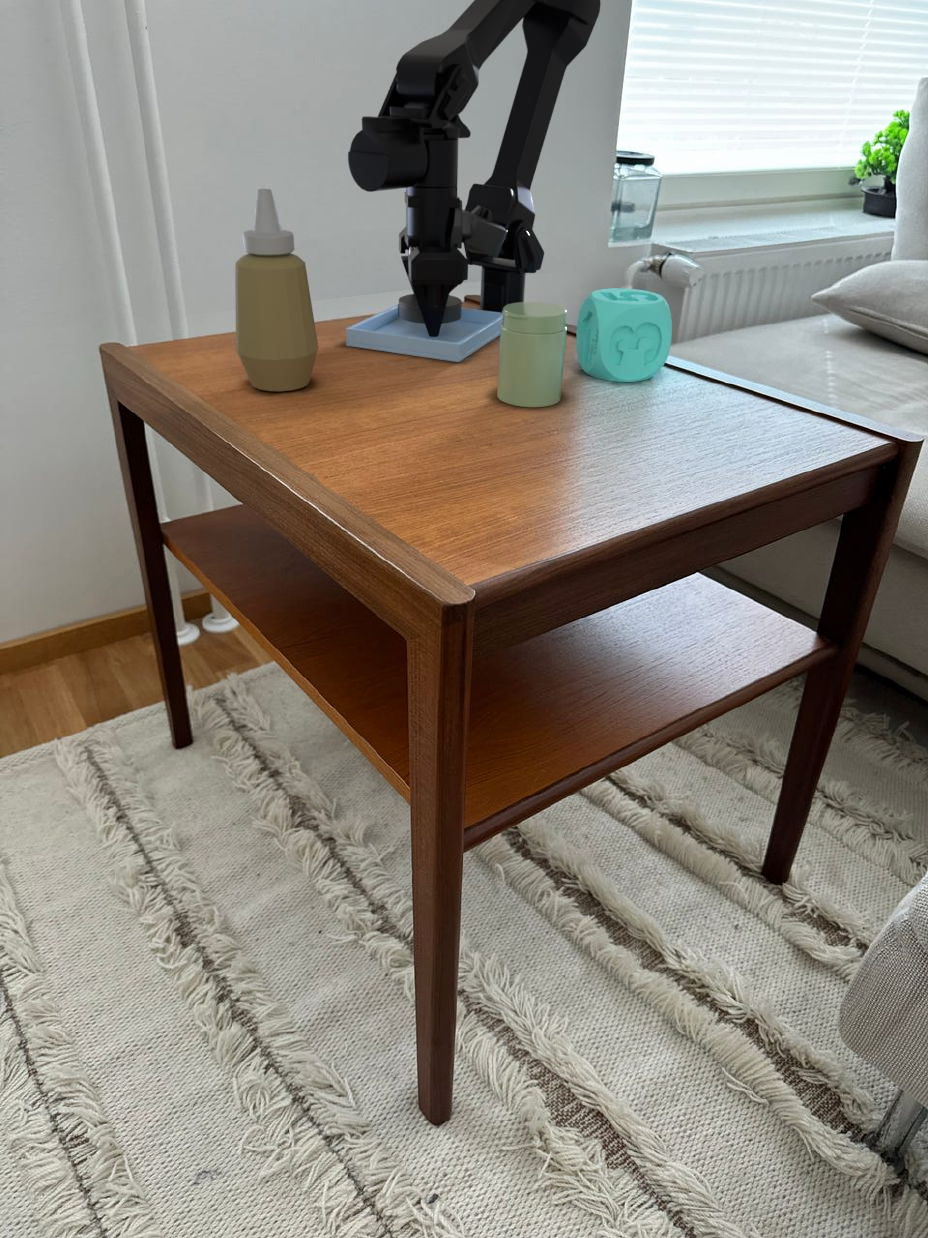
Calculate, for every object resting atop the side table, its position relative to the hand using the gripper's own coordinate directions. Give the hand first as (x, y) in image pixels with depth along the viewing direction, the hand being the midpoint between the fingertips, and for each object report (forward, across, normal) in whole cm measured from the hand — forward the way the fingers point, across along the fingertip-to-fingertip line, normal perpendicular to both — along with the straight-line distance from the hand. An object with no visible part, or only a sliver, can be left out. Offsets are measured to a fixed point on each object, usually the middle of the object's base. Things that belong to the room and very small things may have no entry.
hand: (430, 328), depth 107 cm
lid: (-3, 0, 0) cm, 3 cm away
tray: (+1, 0, 0) cm, 1 cm away
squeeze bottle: (+1, -18, +17) cm, 25 cm away
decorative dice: (+1, -15, -19) cm, 24 cm away
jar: (+1, -23, -8) cm, 24 cm away
